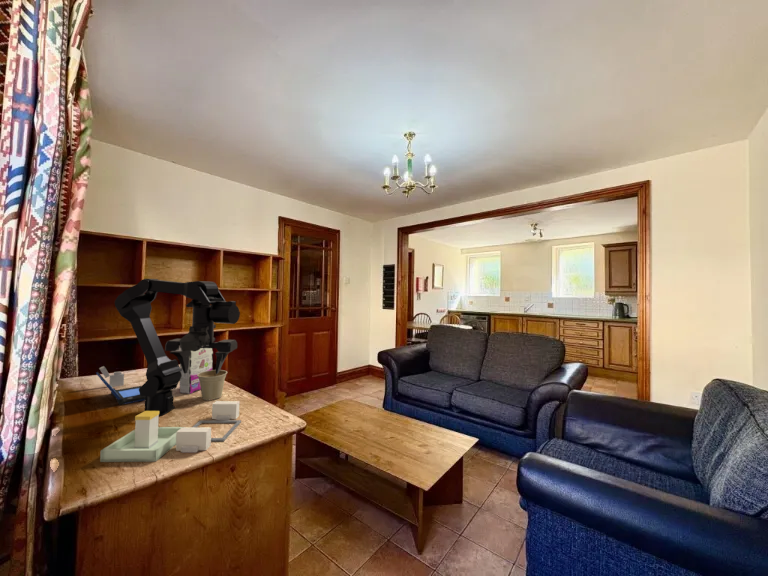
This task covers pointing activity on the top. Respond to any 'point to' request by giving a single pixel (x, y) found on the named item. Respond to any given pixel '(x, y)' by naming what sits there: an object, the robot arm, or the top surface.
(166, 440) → the tray
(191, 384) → the candy bar box
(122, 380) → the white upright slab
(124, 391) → the handheld game console
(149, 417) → the yellow-capped grey block
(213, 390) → the flower pot
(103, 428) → the top surface
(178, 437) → the headphones
